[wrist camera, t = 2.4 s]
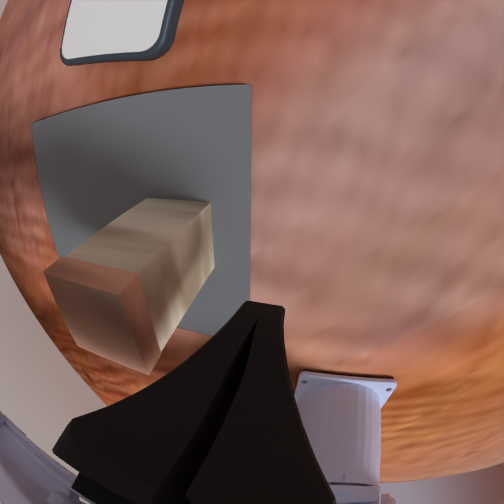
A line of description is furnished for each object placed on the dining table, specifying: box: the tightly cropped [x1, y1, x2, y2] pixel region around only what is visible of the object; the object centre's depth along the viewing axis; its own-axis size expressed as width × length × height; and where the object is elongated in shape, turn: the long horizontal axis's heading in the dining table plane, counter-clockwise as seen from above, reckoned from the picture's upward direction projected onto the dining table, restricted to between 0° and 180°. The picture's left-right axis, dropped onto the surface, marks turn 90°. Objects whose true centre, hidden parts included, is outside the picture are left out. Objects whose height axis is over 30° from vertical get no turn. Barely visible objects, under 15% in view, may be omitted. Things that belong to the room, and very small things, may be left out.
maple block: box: [44, 198, 215, 375], centre depth 13 cm, size 4×4×8 cm
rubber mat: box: [31, 85, 252, 336], centre depth 17 cm, size 16×17×1 cm
